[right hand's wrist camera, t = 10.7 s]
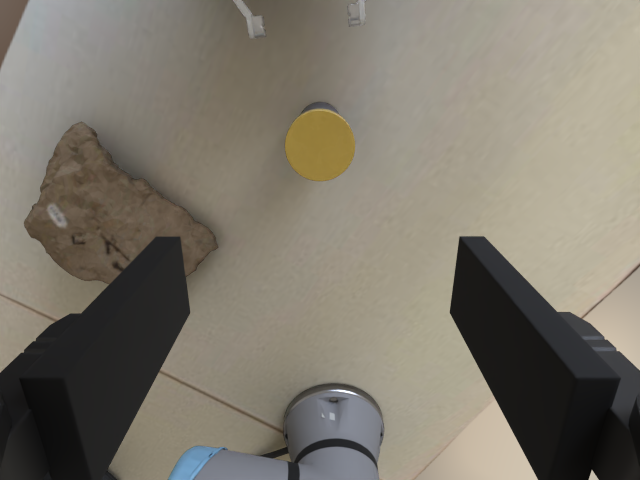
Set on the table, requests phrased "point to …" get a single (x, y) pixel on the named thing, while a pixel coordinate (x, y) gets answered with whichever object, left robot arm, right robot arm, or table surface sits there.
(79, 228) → the stone
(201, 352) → the table surface
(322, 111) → the lid
